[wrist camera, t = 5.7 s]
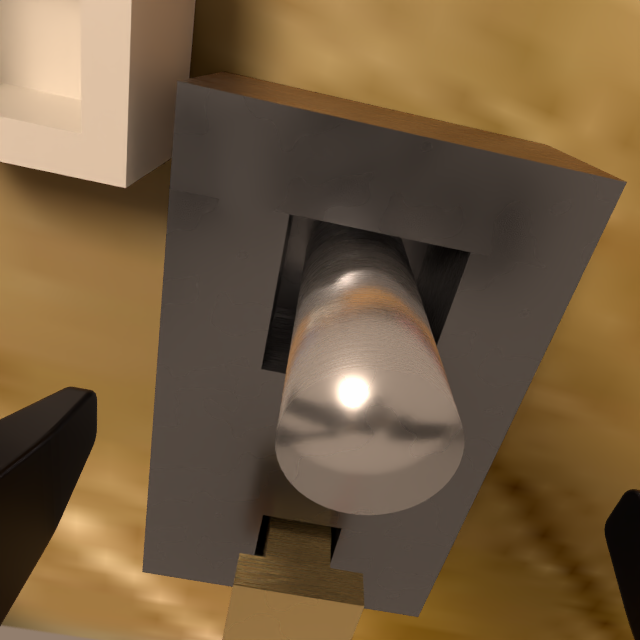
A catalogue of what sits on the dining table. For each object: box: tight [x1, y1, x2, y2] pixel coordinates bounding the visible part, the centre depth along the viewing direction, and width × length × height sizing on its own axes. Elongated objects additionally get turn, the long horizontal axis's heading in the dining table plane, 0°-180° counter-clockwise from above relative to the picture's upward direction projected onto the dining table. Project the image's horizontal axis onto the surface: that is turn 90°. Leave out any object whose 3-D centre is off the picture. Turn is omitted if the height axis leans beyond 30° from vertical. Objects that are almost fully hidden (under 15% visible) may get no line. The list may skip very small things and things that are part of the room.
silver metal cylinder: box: [275, 221, 464, 515], centre depth 13 cm, size 3×3×9 cm
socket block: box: [142, 72, 627, 617], centre depth 17 cm, size 16×10×5 cm, turn 168°
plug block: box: [222, 516, 364, 640], centre depth 18 cm, size 4×4×6 cm
